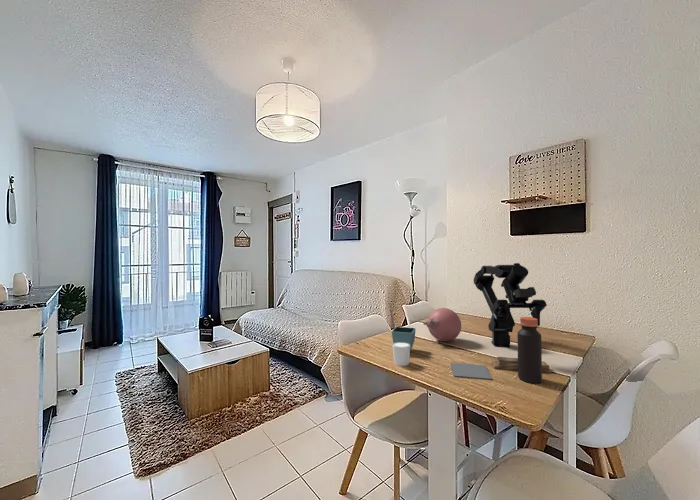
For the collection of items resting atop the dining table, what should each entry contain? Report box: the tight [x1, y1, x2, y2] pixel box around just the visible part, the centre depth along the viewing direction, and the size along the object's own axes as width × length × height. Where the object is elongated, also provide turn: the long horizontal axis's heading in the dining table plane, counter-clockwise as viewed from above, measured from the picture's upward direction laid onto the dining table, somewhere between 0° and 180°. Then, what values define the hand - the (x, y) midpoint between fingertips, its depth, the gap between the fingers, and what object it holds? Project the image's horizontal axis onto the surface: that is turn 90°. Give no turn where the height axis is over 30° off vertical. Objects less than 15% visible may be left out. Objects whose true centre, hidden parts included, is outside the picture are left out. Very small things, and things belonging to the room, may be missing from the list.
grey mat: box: [450, 362, 493, 381], centre depth 105 cm, size 12×12×1 cm
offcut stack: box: [491, 356, 552, 374], centre depth 108 cm, size 18×5×3 cm, turn 76°
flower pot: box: [391, 326, 416, 351], centre depth 128 cm, size 9×9×9 cm
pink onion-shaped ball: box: [422, 307, 462, 342], centre depth 141 cm, size 15×20×15 cm
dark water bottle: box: [516, 316, 543, 384], centre depth 98 cm, size 7×7×20 cm
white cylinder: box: [391, 342, 411, 367], centre depth 114 cm, size 7×7×7 cm
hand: (526, 325), depth 113 cm, fingers open, 9 cm apart
